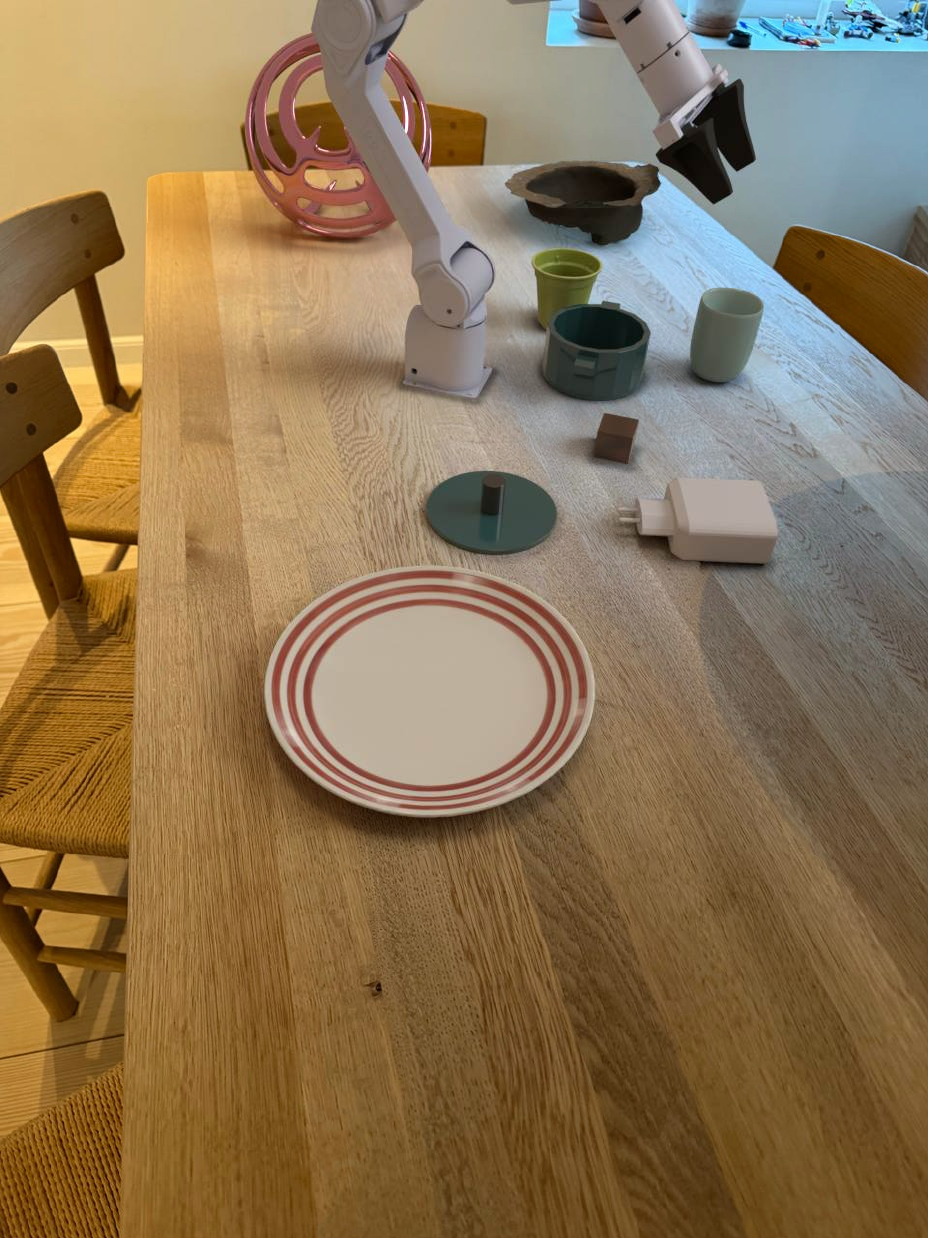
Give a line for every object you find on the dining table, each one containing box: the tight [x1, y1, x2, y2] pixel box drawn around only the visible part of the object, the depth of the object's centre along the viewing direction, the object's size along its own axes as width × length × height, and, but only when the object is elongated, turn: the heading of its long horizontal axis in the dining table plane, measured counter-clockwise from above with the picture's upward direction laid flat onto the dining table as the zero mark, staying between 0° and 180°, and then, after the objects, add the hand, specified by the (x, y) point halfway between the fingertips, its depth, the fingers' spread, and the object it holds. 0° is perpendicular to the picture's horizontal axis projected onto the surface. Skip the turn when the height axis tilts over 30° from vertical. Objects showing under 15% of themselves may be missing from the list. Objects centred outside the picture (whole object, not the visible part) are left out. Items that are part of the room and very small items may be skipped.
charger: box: [616, 476, 779, 565], centre depth 98 cm, size 5×9×15 cm
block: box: [593, 412, 640, 465], centre depth 108 cm, size 4×4×4 cm
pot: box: [541, 300, 652, 401], centre depth 120 cm, size 13×18×6 cm
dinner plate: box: [263, 564, 596, 818], centre depth 80 cm, size 27×27×3 cm
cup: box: [689, 287, 765, 383], centre depth 120 cm, size 8×8×10 cm
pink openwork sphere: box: [244, 32, 433, 240], centre depth 144 cm, size 28×28×27 cm
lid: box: [425, 470, 558, 555], centre depth 98 cm, size 14×14×5 cm
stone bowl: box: [504, 160, 662, 247], centre depth 154 cm, size 25×25×9 cm
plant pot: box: [531, 247, 603, 330], centre depth 129 cm, size 9×9×9 cm
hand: (735, 181), depth 94 cm, fingers open, 7 cm apart
